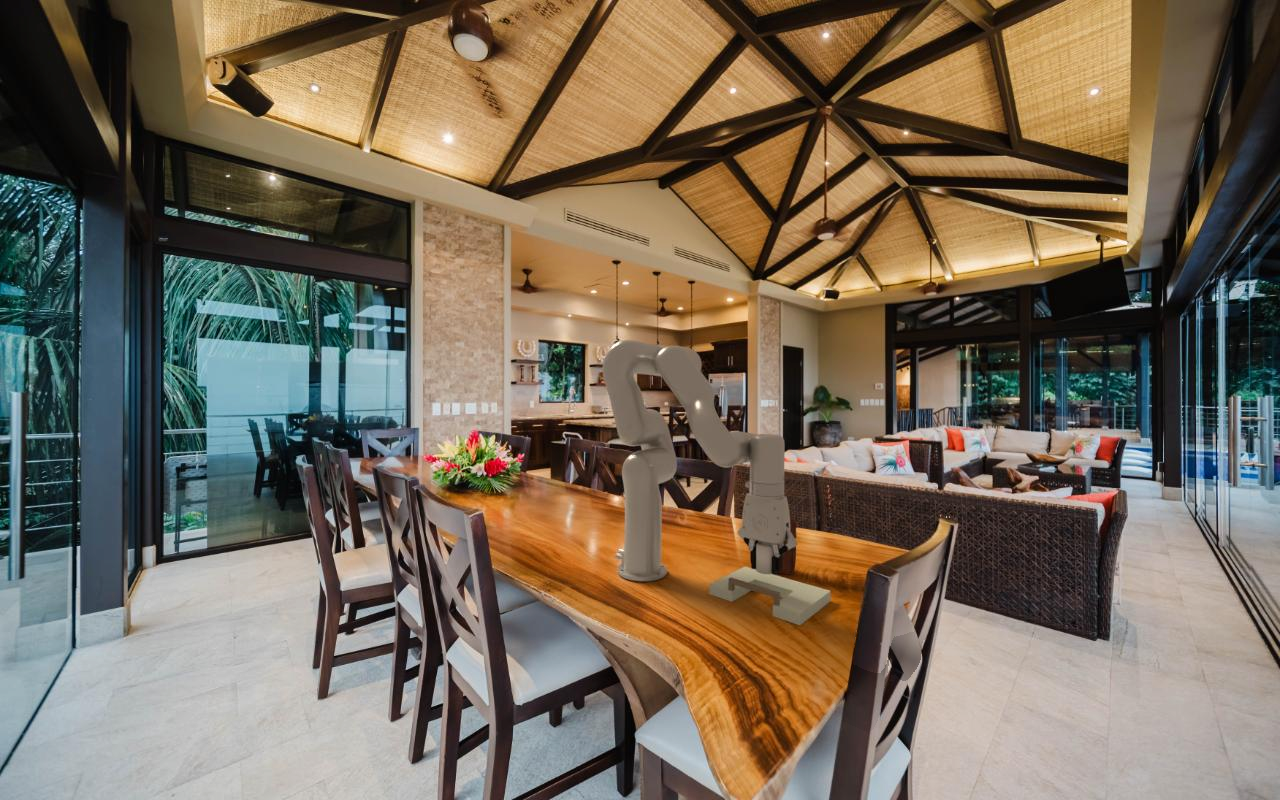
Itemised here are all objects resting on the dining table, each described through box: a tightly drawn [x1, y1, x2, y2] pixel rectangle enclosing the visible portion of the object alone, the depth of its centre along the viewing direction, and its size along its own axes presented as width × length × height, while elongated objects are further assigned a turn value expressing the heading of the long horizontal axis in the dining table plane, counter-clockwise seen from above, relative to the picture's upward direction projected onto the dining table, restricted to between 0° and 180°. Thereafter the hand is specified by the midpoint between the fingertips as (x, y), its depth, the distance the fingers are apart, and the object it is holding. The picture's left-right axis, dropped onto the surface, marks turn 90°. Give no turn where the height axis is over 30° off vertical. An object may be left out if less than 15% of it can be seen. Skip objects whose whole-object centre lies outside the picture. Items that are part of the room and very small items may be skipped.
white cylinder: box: [756, 542, 774, 574], centre depth 112 cm, size 4×4×6 cm
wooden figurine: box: [760, 508, 797, 575], centre depth 132 cm, size 12×6×18 cm, turn 75°
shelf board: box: [708, 566, 832, 626], centre depth 114 cm, size 22×16×5 cm
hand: (766, 569), depth 112 cm, fingers closed on white cylinder, 4 cm apart
